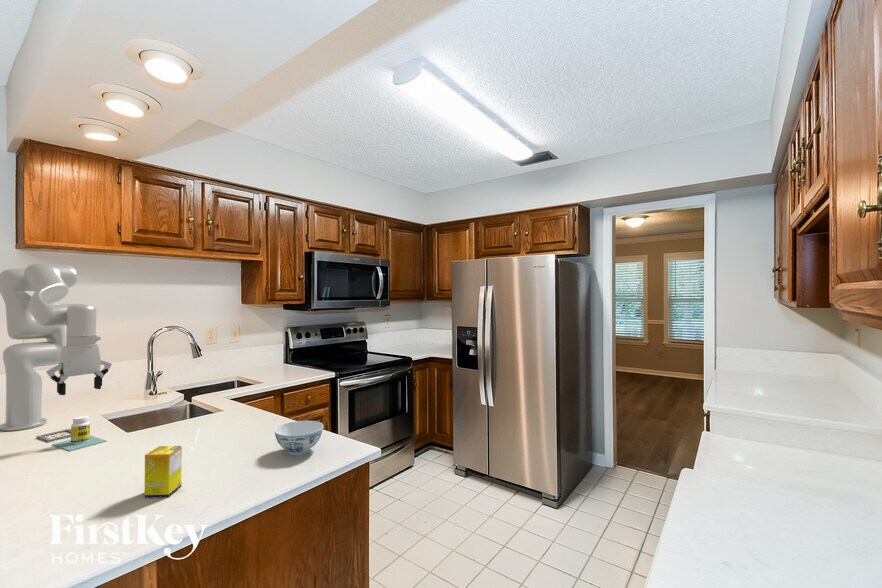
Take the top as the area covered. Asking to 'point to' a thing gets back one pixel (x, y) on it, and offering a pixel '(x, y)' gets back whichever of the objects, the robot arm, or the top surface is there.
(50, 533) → the top surface
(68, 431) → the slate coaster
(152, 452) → the supplement box
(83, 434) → the supplement bottle
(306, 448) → the chinaware
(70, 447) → the teal mat
